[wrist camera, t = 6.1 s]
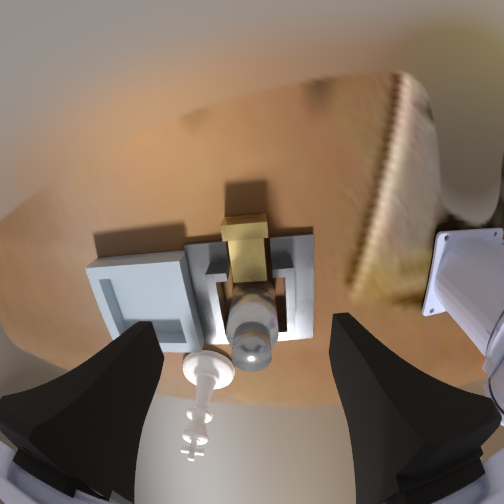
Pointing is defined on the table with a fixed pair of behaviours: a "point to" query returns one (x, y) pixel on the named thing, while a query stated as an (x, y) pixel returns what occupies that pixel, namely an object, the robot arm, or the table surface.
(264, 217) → the tan stepped block
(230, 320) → the stepped metal cylinder
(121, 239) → the table surface
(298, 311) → the socket
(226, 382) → the chess piece
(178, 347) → the tray
